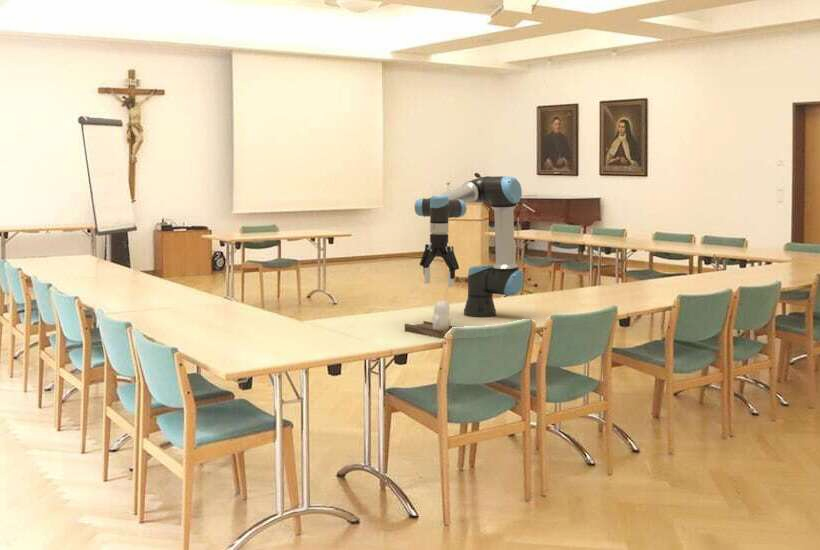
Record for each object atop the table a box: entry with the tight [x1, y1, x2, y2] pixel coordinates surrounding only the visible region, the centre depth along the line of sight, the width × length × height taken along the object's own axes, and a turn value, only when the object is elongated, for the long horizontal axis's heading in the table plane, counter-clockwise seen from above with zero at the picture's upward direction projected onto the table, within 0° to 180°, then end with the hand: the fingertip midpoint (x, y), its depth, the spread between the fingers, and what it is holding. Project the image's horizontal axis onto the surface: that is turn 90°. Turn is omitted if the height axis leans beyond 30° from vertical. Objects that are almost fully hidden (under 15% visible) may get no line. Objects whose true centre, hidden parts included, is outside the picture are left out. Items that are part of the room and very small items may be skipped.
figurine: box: [432, 300, 452, 330], centre depth 365 cm, size 7×8×12 cm
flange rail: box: [404, 320, 456, 339], centre depth 370 cm, size 12×22×4 cm, turn 43°
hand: (438, 285), depth 368 cm, fingers open, 13 cm apart
